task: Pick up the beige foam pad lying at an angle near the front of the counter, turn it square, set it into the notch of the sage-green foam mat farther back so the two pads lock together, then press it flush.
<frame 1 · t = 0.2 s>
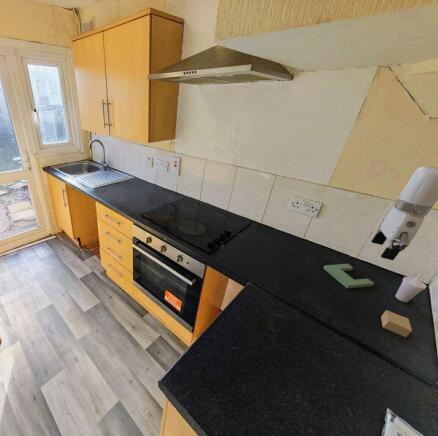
hand: (381, 250, 79), 27 cm above the table, tool pointing down, fingers open, 9 cm apart
foam pad: (392, 326, 83), on the table
smoothie: (400, 299, 95), on the table
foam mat: (346, 277, 105), on the table
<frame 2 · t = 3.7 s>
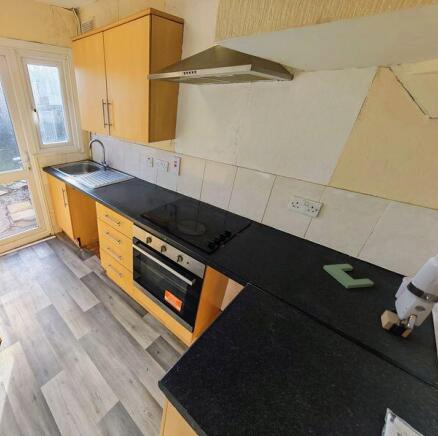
hand: (393, 325, 83), 1 cm above the table, tool pointing down, fingers closed on foam pad, 6 cm apart
foam pad: (392, 326, 83), on the table, touching gripper
everything else where it was.
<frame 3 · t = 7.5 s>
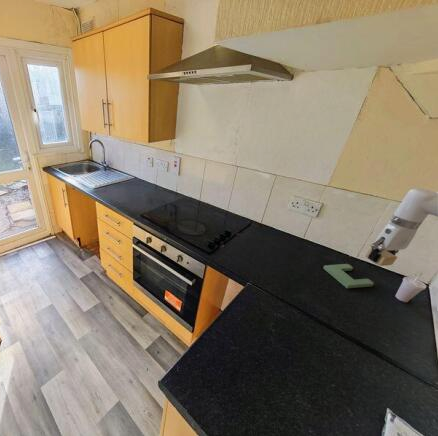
hand: (378, 259, 92), 16 cm above the table, tool pointing down, fingers closed on foam pad, 6 cm apart
foam pad: (378, 260, 93), point 15 cm above the table, touching gripper
everything else where it was.
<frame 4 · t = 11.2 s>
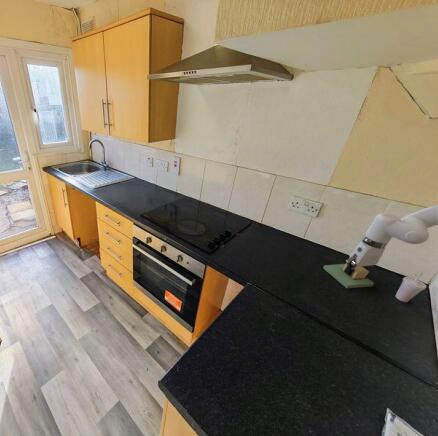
hand: (353, 273, 105), 2 cm above the table, tool pointing down, fingers closed on foam pad, 6 cm apart
foam pad: (353, 274, 105), point 2 cm above the table, touching gripper
everything else where it was.
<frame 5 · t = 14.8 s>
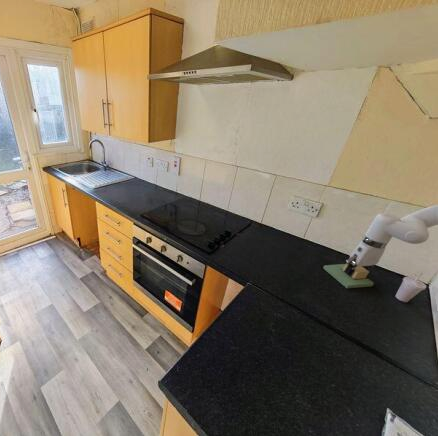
hand: (353, 273, 104), 2 cm above the table, tool pointing down, fingers closed on foam pad, 5 cm apart
foam pad: (353, 274, 105), point 2 cm above the table, touching gripper
everything else where it was.
when the fingers open (3 cm above the table, at t = 17.7 s): foam pad drops 2 cm, on the table.
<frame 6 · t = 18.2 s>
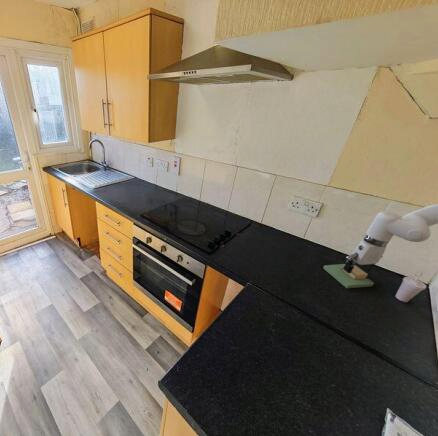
hand: (355, 270, 104), 4 cm above the table, tool pointing down, fingers open, 9 cm apart
foam pad: (351, 276, 106), on the table
everything else where it was.
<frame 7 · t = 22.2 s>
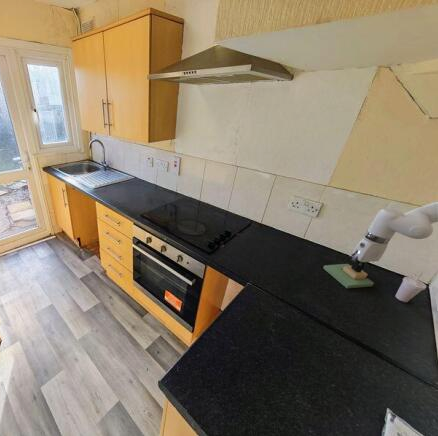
hand: (355, 270, 104), 4 cm above the table, tool pointing down, fingers closed
foam pad: (351, 276, 106), on the table, touching gripper
everything else where it was.
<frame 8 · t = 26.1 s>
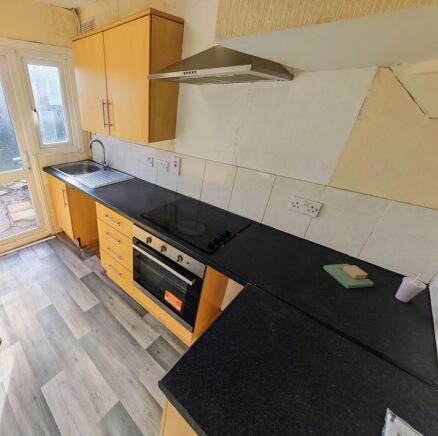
foam pad: (351, 276, 106), on the table
everything else where it was.
at the end: foam pad 0.1 cm from the target spot on the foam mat, point 0.0 cm above the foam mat's base; foam pad tilted 0°; the gripper is holding nothing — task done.
